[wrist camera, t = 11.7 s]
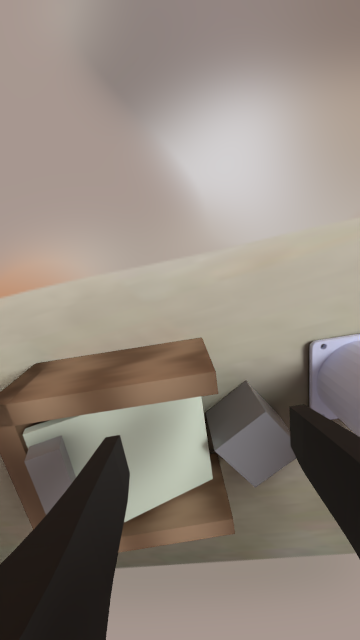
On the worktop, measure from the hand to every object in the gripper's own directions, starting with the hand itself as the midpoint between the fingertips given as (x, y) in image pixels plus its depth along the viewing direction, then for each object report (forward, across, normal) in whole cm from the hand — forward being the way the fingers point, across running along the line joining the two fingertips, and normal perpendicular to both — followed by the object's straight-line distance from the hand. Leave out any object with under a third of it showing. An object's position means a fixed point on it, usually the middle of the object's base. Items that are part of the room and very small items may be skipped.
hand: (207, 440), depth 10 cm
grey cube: (+8, -2, +9) cm, 12 cm away
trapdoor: (+7, +5, +6) cm, 11 cm away
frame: (+10, +6, +6) cm, 13 cm away
